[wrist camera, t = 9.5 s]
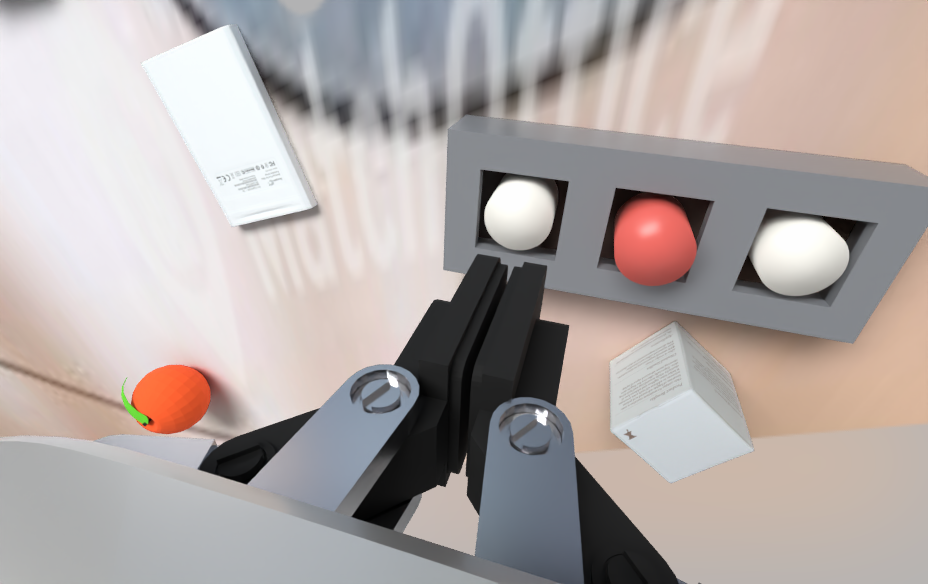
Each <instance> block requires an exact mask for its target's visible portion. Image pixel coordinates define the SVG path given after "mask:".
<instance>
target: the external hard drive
mask: <svg viewBox="0 0 928 584" xmlns="http://www.w3.org/2000/svg"><path fill="white" fill-rule="evenodd" d="M141 64H142V66H143V68H144V70H145V71H146V73H147V75H148V77H149V79H150V81H151V82H152V84H153V86H154V88H155V90H156V91H157V93H158V95H159V97H160V99H161V100H162V102H163V104H164V106H165V107H166V109H167V111H168V113H169V115H170V117H171V118H172V120H173V122H174V124H175V126H176V127H177V129H178V131H179V133H180V135H181V136H182V138H183V140H184V142H185V144H186V145H187V147H188V149H189V151H190V153H191V154H192V156H193V158H194V160H195V162H196V163H197V165H198V167H199V169H200V171H201V172H202V174H203V176H204V178H205V180H206V181H207V183H208V185H209V187H210V189H211V190H212V192H213V194H214V196H215V198H216V199H217V201H218V203H219V205H220V206H221V208H222V210H223V212H224V214H225V216H226V218H227V219H228V221H229V223H230V225H231V226H232V227H235V226H239V225H244V224H248V223H252V222H256V221H261V220H265V219H269V218H274V217H278V216H282V215H287V214H291V213H295V212H299V211H304V210H308V209H311V208H313V207H314V206H316V205H317V201H316V199H315V197H314V195H313V192H312V190H311V188H310V186H309V183H308V181H307V179H306V177H305V175H304V172H303V170H302V168H301V166H300V163H299V161H298V159H297V157H296V155H295V152H294V150H293V148H292V146H291V143H290V141H289V139H288V137H287V135H286V132H285V130H284V128H283V126H282V123H281V121H280V119H279V117H278V115H277V112H276V110H275V108H274V106H273V104H272V101H271V99H270V97H269V95H268V92H267V90H266V88H265V86H264V83H263V81H262V79H261V77H260V75H259V72H258V70H257V68H256V66H255V64H254V61H253V59H252V57H251V55H250V53H249V50H248V48H247V46H246V44H245V42H244V39H243V37H242V35H241V33H240V30H239V28H238V26H237V24H234V25H226V26H223V27H221V28H218V29H216V30H214V31H212V32H209V33H207V34H205V35H203V36H200V37H198V38H196V39H194V40H191V41H189V42H187V43H184V44H182V45H180V46H178V47H176V48H173V49H171V50H169V51H166V52H164V53H161V54H159V55H157V56H155V57H152V58H150V59H148V60H146V61H144V62H142V63H141Z"/></svg>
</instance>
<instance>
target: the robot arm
mask: <svg viewBox="0 0 928 584" xmlns="http://www.w3.org/2000/svg"><path fill="white" fill-rule="evenodd" d="M546 273H547V265H541V264H535V263H529V262H524V263H523V266H522V267H517V266H514V268H513V270H512V273H511V275H510V278H509V280H508V283H507V275H508V265H505V264H501V259H500V257H494V256H488V255H482V254H477V255H476V257H475V259H474V261H473V262H472V264H471V266H470V268H469V269H468V271H467V273H466V275H465V277H464V278H463V280H462V282H461V284H460V286H459V287H458V289H457V291H456V293H455V295H454V296H453V298H452V300H451V302H448V301H443V300H438V299H436V300H434V301H433V303H432V304H431V305H430V307H429V309H428V310H427V312H426V314H425V315H424V317H423V318H422V320H421V322H420V323H419V325H418V327H417V328H416V330H415V331H414V333H413V335H412V336H411V338H410V340H409V341H408V343H407V345H406V346H405V348H404V349H403V351H402V353H401V354H400V356H399V358H398V359H397V361H396V362H395V364H394V365H374V366H370V367H366V368H364V369H362V370H360V371H358V372H356V373H355V374H354V375H352V376H351V377H350V378H349V379H348V380H347V381H346V382H345V383H344V384H343V385H342V386H341V387H340V388H339V389H338V390H337V391H336V392H335V393H334V394H333V395H332V396H331V397H330V398H329V400H328V401H327V402H326V403H325V404H324V405H323V406H322V407H321V408H319V409H316V410H313V411H310V412H307V413H304V414H301V415H298V416H295V417H293V418H290V419H287V420H284V421H281V422H278V423H275V424H272V425H269V426H266V427H263V428H261V429H258V430H255V431H252V432H249V433H246V434H243V435H240V436H237V437H235V438H233V439H231V440H229V441H226V442H224V443H223V444H221V445H217V444H216V442H215V439H197V438H179V437H161V436H143V435H125V434H122V435H111V436H107V437H104V438H101V439H98V440H95V441H90V440H82V439H75V438H67V437H57V436H31V435H23V436H9V437H0V584H687V583H685V582H683V581H681V580H679V579H677V578H676V576H675V574H674V573H673V572H672V570H671V569H670V567H669V566H668V564H667V563H666V561H665V560H664V559H663V558H662V557H661V555H660V554H659V553H658V552H657V551H656V550H655V548H654V547H653V546H652V545H651V544H650V543H649V541H648V540H647V539H646V538H645V537H644V536H643V535H642V533H641V532H640V531H639V530H638V529H637V528H636V527H635V525H634V524H633V523H632V522H631V521H630V520H629V518H628V517H627V516H626V515H625V514H624V513H623V512H622V510H621V509H620V508H619V507H618V506H617V505H616V503H615V502H614V501H613V500H612V499H611V498H610V496H609V495H608V494H607V493H606V492H605V491H604V490H603V488H602V487H601V486H600V485H599V484H598V483H597V481H596V480H595V479H594V478H593V477H592V476H591V474H590V473H589V472H588V471H587V470H586V469H585V467H583V465H582V464H581V463H580V462H579V461H578V459H577V458H576V457H575V452H574V438H573V431H572V427H571V423H570V422H569V420H568V419H567V417H566V416H565V414H564V413H563V412H562V411H560V410H559V409H558V408H557V407H556V401H557V395H558V389H559V383H560V377H561V371H562V365H563V360H564V354H565V348H566V342H567V336H568V330H569V325H565V324H560V323H555V322H550V321H545V320H540V312H541V306H542V299H543V293H544V286H545V280H546ZM466 453H467V461H466V476H467V477H468V486H467V496H468V498H469V500H470V501H471V503H472V505H473V506H474V508H475V510H476V511H477V513H478V515H479V523H478V532H477V541H476V549H475V550H476V551H475V556H473V555H469V554H466V553H463V552H460V551H457V550H454V549H451V548H447V547H444V546H441V545H438V544H435V543H432V542H428V541H425V540H422V539H419V538H416V537H412V536H409V535H406V534H403V531H404V530H405V528H406V526H407V524H408V523H409V521H410V519H411V518H412V516H413V514H414V513H415V511H416V509H417V507H418V505H419V503H420V500H421V498H422V493H423V492H426V491H428V490H430V489H432V488H434V487H436V486H437V485H440V486H444V487H446V484H447V481H448V479H449V476H450V473H451V472H452V473H456V474H459V473H460V470H461V468H462V465H463V462H464V459H465V456H466ZM698 584H701V583H698Z"/></svg>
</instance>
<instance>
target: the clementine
mask: <svg viewBox="0 0 928 584" xmlns="http://www.w3.org/2000/svg"><path fill="white" fill-rule="evenodd" d="M126 379H127V378H126ZM125 381H126V380H125ZM124 383H125V382H124ZM123 385H124V384H123ZM121 395H122V399H123V402H124V405H125V407H126V409H127V410H128V412H129V413H130V414H131V415H132V416H133V417H134V418H135V419H136V421H137V422H138V423H139V424H140V425H141V426H142V427H143V428H145V429H147V430H149V431H151V432H155V433H161V434H172V433H177V432H181V431H184V430H186V429H188V428H190V427H192V426H193V425H194V424H195V423H197V422H198V421H199V420H201V418H202V417H203V416H204V414H205V413H206V411H207V409H208V406H209V403H210V387H209V385H208V382H207V380H206V379H205V377H204V376H203V375H202V374H201V373H200V372H198V371H197V370H195V369H193V368H190V367H187V366H183V365H167V366H164V367H161V368H158V369H155V370H153V371H152V372H150V373H148V374H147V375H146V376H145V377H144V378H143V379H142V380H141V381H140V382H139V383H138V384H137V386H136V388H135V390H134V392H133V395H132V401H131V405H130V404H129V403H128V401H127V399H126V397H125V395H124V393H123V386H122V394H121Z"/></svg>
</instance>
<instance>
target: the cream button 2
mask: <svg viewBox="0 0 928 584" xmlns="http://www.w3.org/2000/svg"><path fill="white" fill-rule="evenodd" d="M747 255H748V256H749V258H750V260H751V262H752V264H753V266H754V268H755V269H756V271H757V273H758V275H759V277H760V279H761V281H762V282H763V283H764V285H765V286H767V287H768V288H769V289H771V290H772V291H774V292H776V293H779V294H783V295H788V296H802V295H808V294H812V293H815V292H818V291H821V290H823V289H825V288H827V287H828V286H830V285H831V284H833V283H834V282H835V281H836V280H837V279H838V278H839V277H840V276H841V275H842V274H843V272H844V271H845V269H846V267H847V265H848V261H849V250H848V246H847V244H846V242H845V241H844V240H843V239H842V238H841V236H840V235H839V234H838V233H837V232H836V231H835V230H834V229H833V228H832V227H831V226H830V225H829V224H828V223H827V222H826V221H825V220H824V219H823V218H822V217H821V216H820V215H814V214H807V213H799V212H792V211H784V210H777V209H770V208H767V210H766V212H765V214H764V217H763V219H762V221H761V224H760V226H759V229H758V231H757V233H756V236H755V238H754V240H753V243H752V245H751V247H750V250H749V252H748V254H747Z"/></svg>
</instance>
